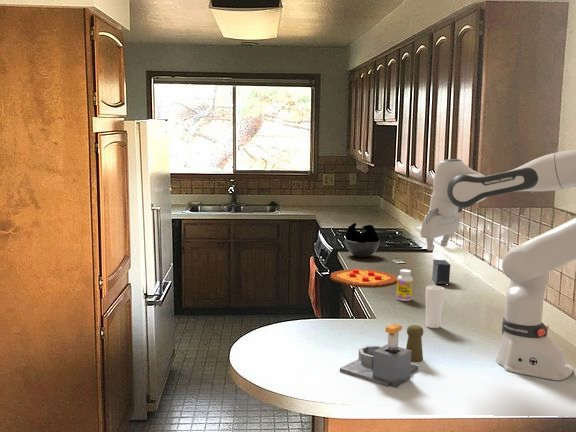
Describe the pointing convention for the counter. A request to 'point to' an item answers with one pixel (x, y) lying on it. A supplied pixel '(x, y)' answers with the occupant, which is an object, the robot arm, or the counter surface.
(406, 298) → the supplement bottle
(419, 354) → the cork
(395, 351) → the wedge pin
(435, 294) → the drinking glass
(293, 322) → the counter surface
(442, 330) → the counter surface
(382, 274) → the pizza
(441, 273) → the small box
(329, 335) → the counter surface
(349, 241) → the coal bowl
